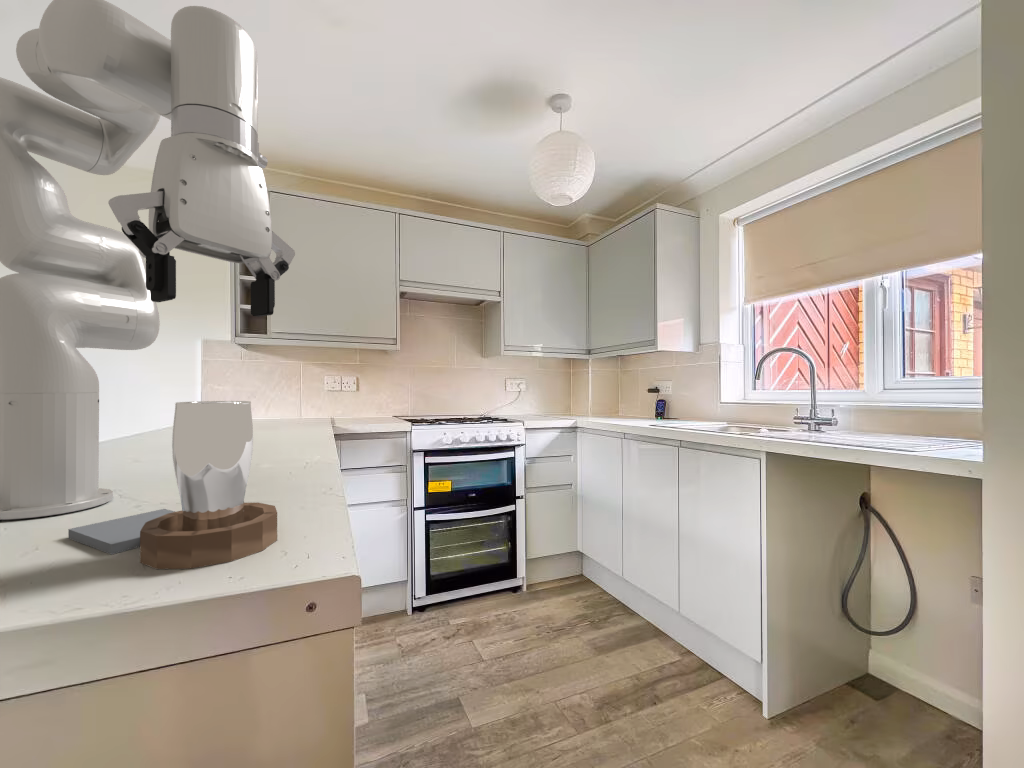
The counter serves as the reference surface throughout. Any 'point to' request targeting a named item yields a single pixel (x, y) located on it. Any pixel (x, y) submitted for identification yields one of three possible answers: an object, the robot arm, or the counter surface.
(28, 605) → the counter surface
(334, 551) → the counter surface
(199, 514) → the beer glass
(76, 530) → the slate mat
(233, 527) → the ring
